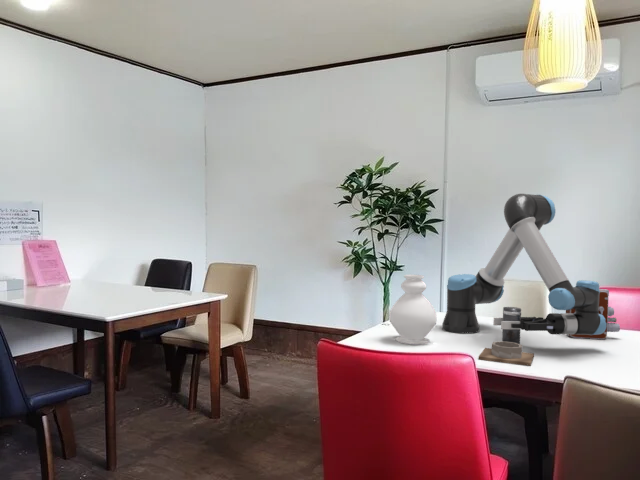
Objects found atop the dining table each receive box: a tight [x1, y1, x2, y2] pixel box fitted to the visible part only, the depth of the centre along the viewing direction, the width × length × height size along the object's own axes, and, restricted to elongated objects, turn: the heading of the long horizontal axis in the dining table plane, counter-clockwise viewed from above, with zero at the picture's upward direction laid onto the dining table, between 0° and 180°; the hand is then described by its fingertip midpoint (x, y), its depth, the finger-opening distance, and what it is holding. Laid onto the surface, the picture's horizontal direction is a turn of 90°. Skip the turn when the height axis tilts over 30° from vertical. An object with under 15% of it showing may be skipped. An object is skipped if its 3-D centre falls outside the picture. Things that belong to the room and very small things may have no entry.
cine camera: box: [565, 288, 621, 340], centre depth 206 cm, size 9×19×20 cm, turn 78°
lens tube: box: [501, 306, 522, 345], centre depth 182 cm, size 6×6×14 cm
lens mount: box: [477, 340, 535, 367], centre depth 171 cm, size 16×14×4 cm
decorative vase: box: [388, 274, 438, 345], centre depth 194 cm, size 18×18×25 cm
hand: (497, 323), depth 182 cm, fingers closed on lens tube, 6 cm apart
